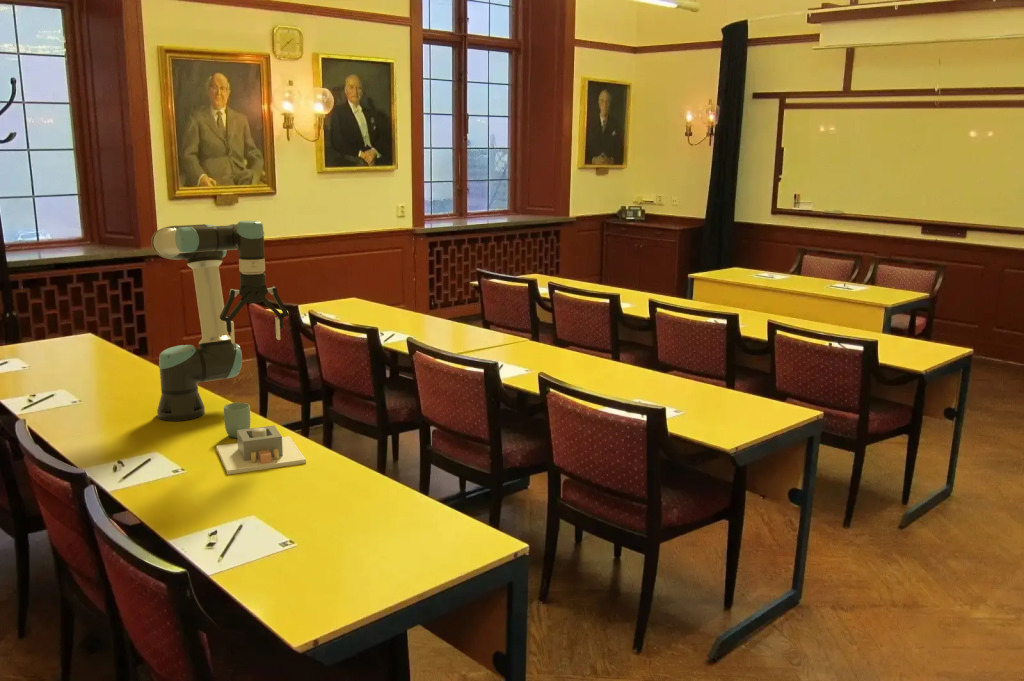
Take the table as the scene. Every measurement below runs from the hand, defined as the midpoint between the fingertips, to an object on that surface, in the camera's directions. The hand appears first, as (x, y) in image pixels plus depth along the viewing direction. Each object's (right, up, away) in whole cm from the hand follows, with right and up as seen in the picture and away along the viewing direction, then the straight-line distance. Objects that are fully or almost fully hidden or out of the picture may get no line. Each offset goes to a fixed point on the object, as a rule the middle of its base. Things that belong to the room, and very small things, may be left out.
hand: (255, 340), depth 258 cm
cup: (-8, -31, +9) cm, 33 cm away
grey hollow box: (+5, -34, -10) cm, 35 cm away
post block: (+4, -34, -8) cm, 36 cm away
